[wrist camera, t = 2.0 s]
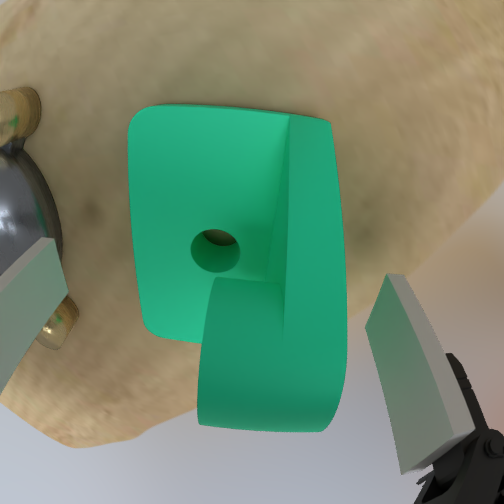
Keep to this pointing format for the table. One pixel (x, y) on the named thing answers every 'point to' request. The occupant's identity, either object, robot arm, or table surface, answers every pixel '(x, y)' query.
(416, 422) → the robot arm
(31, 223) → the plate
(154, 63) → the table surface
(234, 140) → the camera mount
